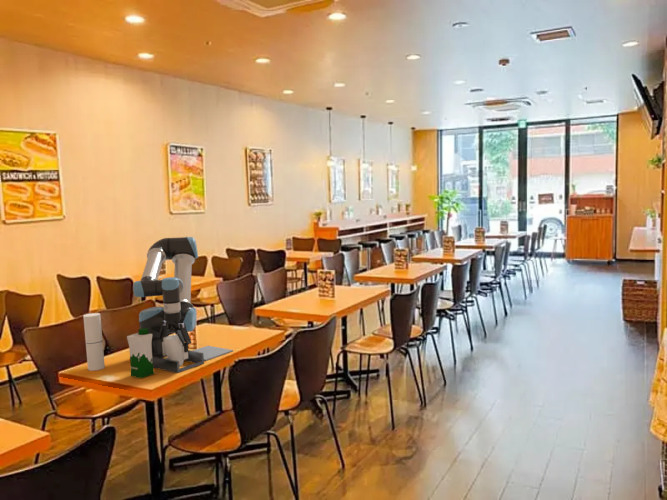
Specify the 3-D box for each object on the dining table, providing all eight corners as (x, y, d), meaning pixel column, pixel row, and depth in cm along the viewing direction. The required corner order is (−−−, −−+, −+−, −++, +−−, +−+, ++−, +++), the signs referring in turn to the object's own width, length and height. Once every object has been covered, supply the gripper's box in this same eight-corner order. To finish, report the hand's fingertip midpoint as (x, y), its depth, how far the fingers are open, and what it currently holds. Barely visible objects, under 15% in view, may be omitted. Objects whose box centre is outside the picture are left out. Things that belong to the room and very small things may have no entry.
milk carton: (157, 373, 251) (154, 329, 249) (140, 379, 244) (136, 333, 242) (144, 370, 256) (141, 327, 254) (127, 376, 248) (123, 331, 246)
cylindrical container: (94, 371, 258) (90, 317, 255) (84, 369, 261) (79, 315, 259) (108, 366, 264) (103, 313, 261) (97, 365, 267) (93, 312, 265)
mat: (180, 355, 277) (180, 354, 277) (207, 346, 292) (207, 345, 292) (206, 360, 267) (205, 359, 267) (233, 351, 282) (233, 350, 282)
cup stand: (147, 366, 262) (147, 355, 262) (174, 357, 275) (173, 347, 274) (177, 373, 251) (176, 361, 250) (204, 363, 263) (203, 352, 263)
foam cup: (164, 363, 265) (162, 336, 264) (184, 360, 269) (182, 333, 268) (167, 369, 257) (165, 341, 255) (188, 366, 260) (186, 338, 259)
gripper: (147, 310, 264) (151, 355, 266) (184, 315, 250) (187, 362, 252) (161, 307, 270) (164, 351, 272) (197, 312, 256) (200, 358, 258)
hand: (175, 357), depth 262 cm, fingers open, 13 cm apart
